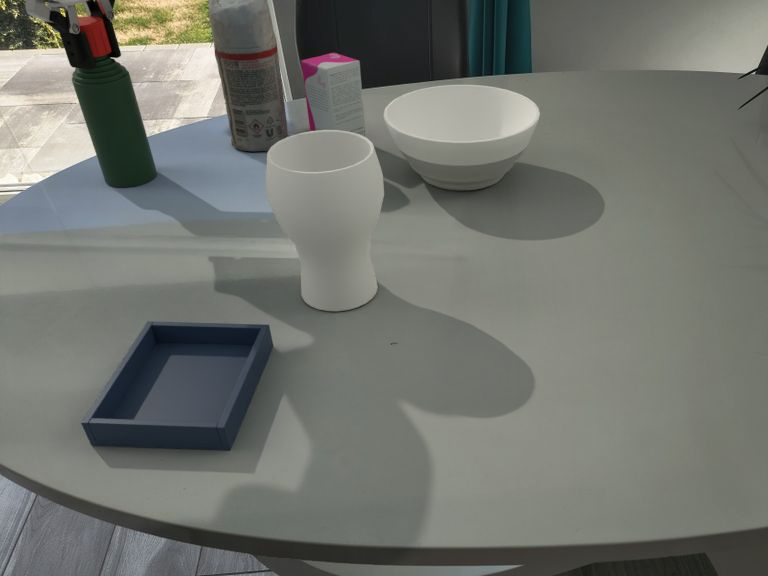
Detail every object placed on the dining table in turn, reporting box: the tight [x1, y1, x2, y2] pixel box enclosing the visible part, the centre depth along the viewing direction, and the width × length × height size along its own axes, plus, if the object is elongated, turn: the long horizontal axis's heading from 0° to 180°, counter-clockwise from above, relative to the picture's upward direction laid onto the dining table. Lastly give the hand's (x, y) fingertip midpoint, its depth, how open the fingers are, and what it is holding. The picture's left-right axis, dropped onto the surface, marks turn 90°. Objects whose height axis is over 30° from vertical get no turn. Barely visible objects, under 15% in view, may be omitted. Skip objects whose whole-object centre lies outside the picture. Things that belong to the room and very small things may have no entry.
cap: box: [78, 16, 111, 57], centre depth 85 cm, size 4×4×4 cm
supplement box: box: [300, 52, 367, 138], centre depth 100 cm, size 6×6×12 cm
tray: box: [80, 320, 274, 451], centre depth 62 cm, size 11×13×2 cm
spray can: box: [208, 0, 290, 152], centre depth 98 cm, size 8×8×20 cm
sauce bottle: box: [71, 55, 158, 188], centre depth 90 cm, size 6×6×18 cm
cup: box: [265, 130, 385, 312], centre depth 70 cm, size 11×11×15 cm
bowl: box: [383, 84, 541, 192], centre depth 94 cm, size 20×20×8 cm
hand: (96, 60), depth 86 cm, fingers closed on cap, 3 cm apart
